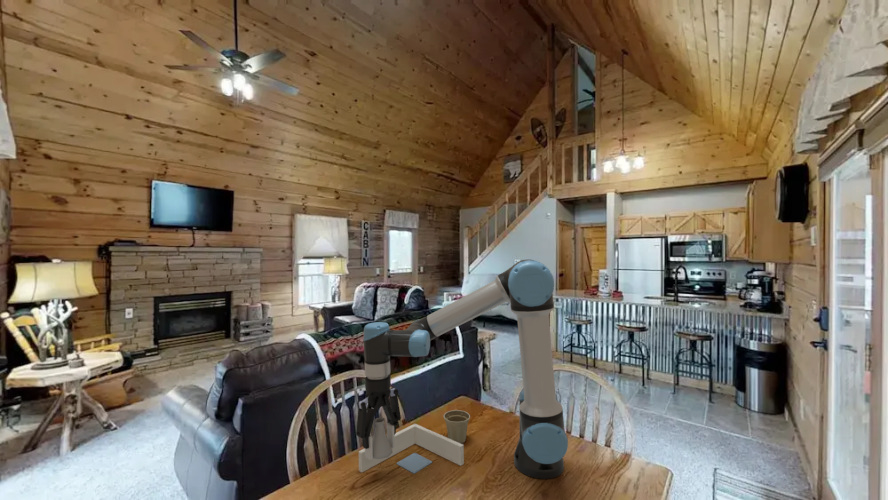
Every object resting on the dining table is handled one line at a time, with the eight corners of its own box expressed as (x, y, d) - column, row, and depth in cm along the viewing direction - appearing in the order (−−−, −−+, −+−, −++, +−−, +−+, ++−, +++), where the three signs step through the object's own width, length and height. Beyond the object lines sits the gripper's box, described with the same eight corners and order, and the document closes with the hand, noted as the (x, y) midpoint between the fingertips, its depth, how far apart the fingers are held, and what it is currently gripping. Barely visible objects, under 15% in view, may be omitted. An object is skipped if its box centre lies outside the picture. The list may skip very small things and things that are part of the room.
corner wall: (463, 463, 119) (463, 444, 119) (408, 502, 101) (407, 480, 101) (415, 440, 134) (414, 423, 134) (358, 470, 116) (358, 451, 116)
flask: (371, 447, 116) (370, 414, 116) (394, 446, 116) (393, 414, 116) (365, 460, 109) (364, 425, 109) (390, 460, 108) (389, 425, 108)
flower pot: (460, 450, 127) (460, 424, 127) (438, 441, 133) (438, 417, 133) (475, 438, 135) (475, 414, 135) (453, 430, 140) (453, 407, 140)
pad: (432, 462, 120) (432, 461, 120) (414, 473, 114) (414, 473, 114) (414, 453, 125) (414, 452, 125) (396, 463, 119) (396, 463, 119)
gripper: (395, 364, 122) (397, 434, 122) (340, 382, 107) (343, 462, 107) (411, 368, 117) (413, 442, 118) (356, 388, 102) (359, 472, 102)
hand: (380, 451), depth 112 cm, fingers closed on flask, 8 cm apart
